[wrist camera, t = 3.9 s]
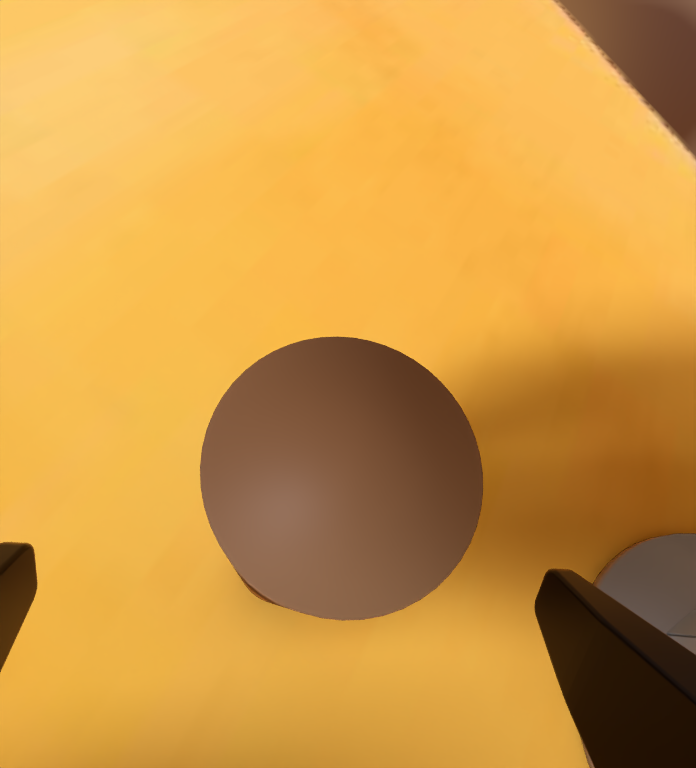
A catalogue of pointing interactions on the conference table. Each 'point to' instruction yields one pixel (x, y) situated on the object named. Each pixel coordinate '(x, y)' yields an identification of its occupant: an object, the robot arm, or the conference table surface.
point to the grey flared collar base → (656, 586)
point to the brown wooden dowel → (341, 479)
